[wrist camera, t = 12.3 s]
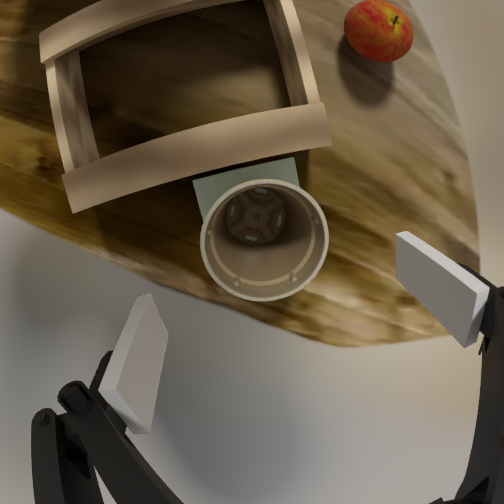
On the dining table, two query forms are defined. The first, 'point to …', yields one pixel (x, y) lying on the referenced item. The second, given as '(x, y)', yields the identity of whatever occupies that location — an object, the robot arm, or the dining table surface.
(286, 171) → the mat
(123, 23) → the crate
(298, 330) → the dining table surface
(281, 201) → the flower pot
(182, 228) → the dining table surface
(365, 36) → the fruit
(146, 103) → the dining table surface
